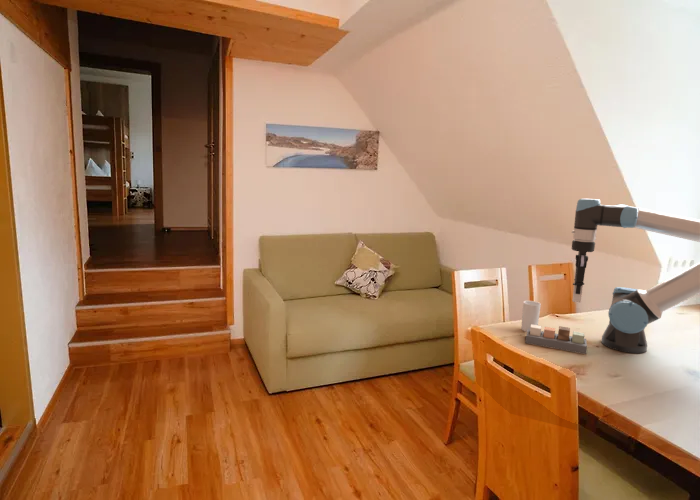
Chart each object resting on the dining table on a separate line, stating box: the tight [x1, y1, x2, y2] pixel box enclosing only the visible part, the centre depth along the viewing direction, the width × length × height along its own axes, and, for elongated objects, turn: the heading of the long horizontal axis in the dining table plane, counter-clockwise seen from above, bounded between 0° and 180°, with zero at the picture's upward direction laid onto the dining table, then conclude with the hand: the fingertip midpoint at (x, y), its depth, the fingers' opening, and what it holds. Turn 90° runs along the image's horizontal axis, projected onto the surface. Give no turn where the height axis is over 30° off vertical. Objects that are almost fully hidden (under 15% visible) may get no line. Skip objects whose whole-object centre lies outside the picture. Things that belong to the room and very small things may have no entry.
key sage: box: [571, 330, 585, 344], centre depth 165 cm, size 4×4×4 cm
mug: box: [520, 300, 542, 333], centre depth 185 cm, size 10×7×12 cm, turn 138°
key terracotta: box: [543, 326, 556, 339], centre depth 169 cm, size 4×4×4 cm
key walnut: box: [557, 325, 571, 341], centre depth 167 cm, size 4×4×4 cm
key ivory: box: [530, 324, 542, 336], centre depth 172 cm, size 4×4×4 cm
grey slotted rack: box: [525, 329, 588, 355], centre depth 169 cm, size 21×9×3 cm, turn 64°
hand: (576, 301), depth 165 cm, fingers closed
